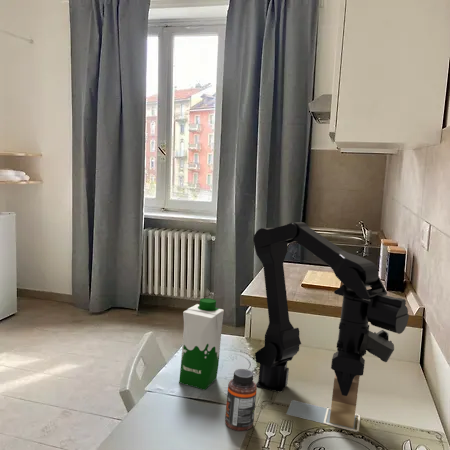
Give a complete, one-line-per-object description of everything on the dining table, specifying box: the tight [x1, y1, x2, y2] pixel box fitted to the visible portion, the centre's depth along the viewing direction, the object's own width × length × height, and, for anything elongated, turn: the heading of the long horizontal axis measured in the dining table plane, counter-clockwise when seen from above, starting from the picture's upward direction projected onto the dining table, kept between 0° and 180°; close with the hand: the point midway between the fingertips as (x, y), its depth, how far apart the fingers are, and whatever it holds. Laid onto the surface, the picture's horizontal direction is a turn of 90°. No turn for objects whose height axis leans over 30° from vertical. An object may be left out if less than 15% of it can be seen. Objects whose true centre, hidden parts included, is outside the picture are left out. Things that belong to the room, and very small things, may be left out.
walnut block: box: [331, 375, 361, 407], centre depth 99 cm, size 5×5×5 cm
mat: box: [285, 399, 357, 430], centre depth 101 cm, size 14×7×1 cm, turn 71°
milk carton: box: [178, 297, 225, 391], centre depth 112 cm, size 9×9×20 cm
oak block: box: [329, 400, 358, 428], centre depth 100 cm, size 5×5×5 cm
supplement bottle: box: [224, 368, 258, 432], centre depth 94 cm, size 6×6×11 cm
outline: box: [322, 407, 361, 433], centre depth 100 cm, size 7×7×1 cm
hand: (345, 388), depth 99 cm, fingers open, 7 cm apart
